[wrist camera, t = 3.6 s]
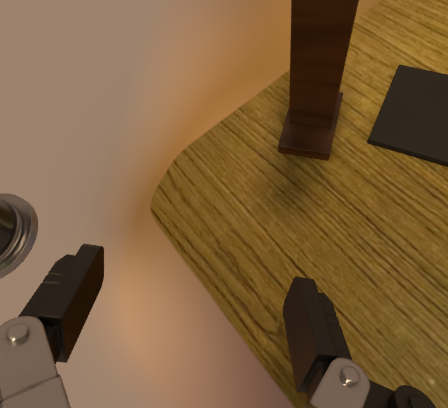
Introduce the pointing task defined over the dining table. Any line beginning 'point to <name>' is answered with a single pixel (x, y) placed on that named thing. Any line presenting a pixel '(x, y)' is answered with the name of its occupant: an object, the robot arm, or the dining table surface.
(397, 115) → the shoe mat
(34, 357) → the robot arm
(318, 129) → the dark brown wooden post
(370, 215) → the dining table surface
